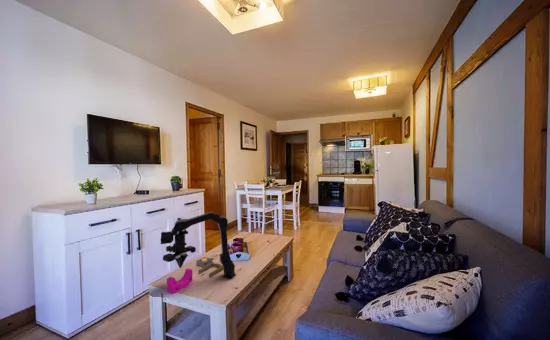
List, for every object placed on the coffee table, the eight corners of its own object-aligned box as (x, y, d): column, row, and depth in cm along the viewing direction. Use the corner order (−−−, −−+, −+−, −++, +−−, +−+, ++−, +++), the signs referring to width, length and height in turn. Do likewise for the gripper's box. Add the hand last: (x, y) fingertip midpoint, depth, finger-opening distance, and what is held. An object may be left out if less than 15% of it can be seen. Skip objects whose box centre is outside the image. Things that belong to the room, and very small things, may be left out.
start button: (208, 262, 164) (208, 258, 164) (204, 264, 161) (204, 260, 161) (204, 261, 166) (204, 257, 166) (200, 263, 163) (200, 259, 163)
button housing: (212, 263, 165) (212, 258, 165) (204, 267, 158) (204, 263, 158) (204, 261, 169) (204, 256, 169) (196, 265, 162) (196, 260, 162)
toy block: (174, 294, 126) (173, 281, 126) (167, 291, 129) (166, 278, 129) (195, 282, 139) (194, 270, 139) (188, 279, 142) (188, 268, 142)
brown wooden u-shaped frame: (224, 268, 156) (224, 265, 155) (210, 277, 144) (210, 273, 144) (213, 265, 161) (212, 262, 161) (198, 273, 149) (198, 270, 149)
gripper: (184, 235, 146) (184, 259, 146) (157, 244, 130) (157, 270, 130) (196, 238, 140) (196, 262, 140) (168, 247, 124) (169, 275, 124)
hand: (180, 267), depth 134 cm, fingers closed
